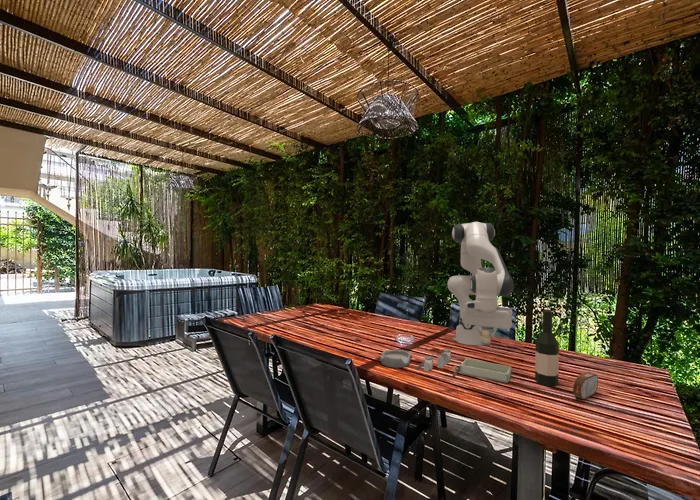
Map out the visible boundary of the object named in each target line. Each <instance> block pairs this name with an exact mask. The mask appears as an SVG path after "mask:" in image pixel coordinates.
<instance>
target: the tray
mask: <svg viewBox="0 0 700 500" xmlns="http://www.w3.org/2000/svg"><path fill="white" fill-rule="evenodd" d="M459 366H460V371H459V374H461V375H465V376H471V377H475V378H479V379H486V380H490V381H495V382H500V383H505V384H509V381H510V379H511V377H512V366H511V365H504V364H499V363H494V362H488V361H483V360H476V359H471V358H465V359H464V360H463V361H462V362H461V363H460V365H459Z"/></svg>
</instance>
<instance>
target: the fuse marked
mask: <svg viewBox="0 0 700 500" xmlns="http://www.w3.org/2000/svg"><path fill="white" fill-rule="evenodd" d="M481 328H482V342H481V344H484V345H483V346H491V340H492V338H491V337H490V336H491V335H490V333H492V332H491V330H492V327H486V326H481Z"/></svg>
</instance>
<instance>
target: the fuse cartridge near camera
mask: <svg viewBox="0 0 700 500" xmlns="http://www.w3.org/2000/svg"><path fill="white" fill-rule="evenodd" d="M432 360H433V357H431V355H426V356H424V361H425V362H426V363H429V372H430V371H432V370H433V368H432Z"/></svg>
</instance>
